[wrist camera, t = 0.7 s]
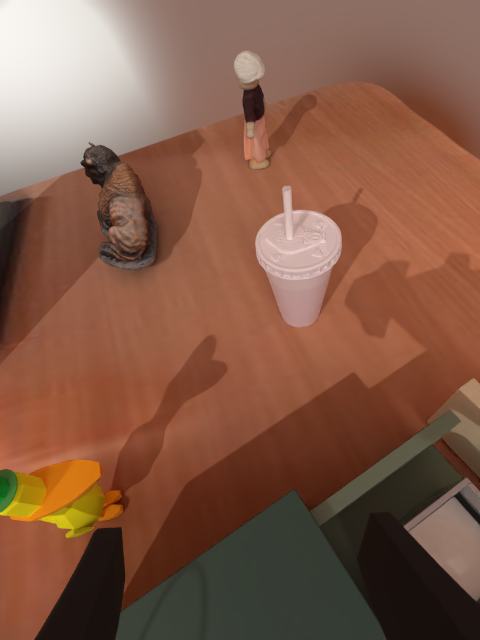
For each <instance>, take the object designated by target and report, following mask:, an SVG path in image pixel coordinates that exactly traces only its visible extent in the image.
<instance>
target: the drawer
mask: <svg viewBox="0 0 480 640" xmlns="http://www.w3.org/2000/svg"><path fill="white" fill-rule="evenodd" d="M427 423H428V424H429V425H428V426H426V427H425V428H424V429H422V430H421V431H420V432H418V433H417V434H415V435H414V436H413V437H411V438H410V439H409V440H407V441H406V442H404V443H403V444H402V445H400V446H399V447H398V448H396V449H395V450H393V451H392V452H391V453H389V454H388V455H387V456H385V457H384V458H382V459H381V460H380V461H378V462H377V463H376V464H374V465H373V466H371V467H370V468H369V469H367V470H366V471H365V472H363V473H362V474H360V475H359V476H358V477H356V478H355V479H353V480H352V481H351V482H349V483H348V484H347V485H345V486H344V487H342V488H341V489H340V490H338V491H337V492H336V493H334V494H333V495H331V496H330V497H329V498H327V499H326V500H325V501H323V502H322V503H320V504H319V505H318V506H316V507H315V508H314V509H312V510H311V511H310V513H311V514H312V516H313V518H314V519H315V521H316V522H317V524H318V526H319V527H320V529H321V530H322V532H323V534H324V535H325V537H326V538H327V540H328V541H329V543H330V545H331V546H332V548H333V549H334V551H335V553H336V554H337V556H338V557H339V559H340V561H341V562H342V564H343V565H344V567H345V568H346V570H347V572H348V573H349V575H350V576H351V578H352V580H353V581H354V583H355V584H356V586H357V588H358V589H359V591H360V592H361V594H362V596H363V597H364V599H365V600H366V602H367V603H368V605H369V607H370V608H371V610H372V611H373V613H374V615H375V616H376V614H375V611H374V609H373V606H372V604H371V602H370V599H369V596H368V593H367V590H366V587H365V584H364V581H363V577H362V574H361V571H360V568H359V564H358V561H357V557H358V556H357V554H356V553H357V552H359V550H360V546H361V543H362V540H363V536H364V533H365V529H366V526H367V522H368V519H369V515H370V513H375V512H390V513H391V514H392V515H393V516H394V517H395V518H396V519H397V520H398V521H399V520H400V519H402V518H403V517H404V516H406V515H407V514H408V513H409V512H411V511H412V510H413V509H415V508H416V507H417V506H418V505H420V504H421V503H422V502H424V501H425V500H426V499H428V498H429V497H430V496H431V495H433V494H434V493H435V492H437V491H438V490H439V489H441V488H442V487H444V486H446V485H449V484H451V483H454V482H456V481H458V480H461V479H463V477H462V476H461V475H460V474H459V473H458V472H457V471H456V470H455V469H454V468H453V467H452V465H451V464H450V463H449V462H448V461H447V460H446V459H445V458H444V457H443V456H442V455H441V454H440V452H439V451H438V450H437V449H436V448H435V447H434V446H433V444H434V443H435V442H436V441H438V440H439V439H440V438H442V439H443V440H444V441H445V442H446V443H447V445H448V446H449V447H450V448H451V449H452V450H453V451H454V452H455V453H456V454H457V455H458V456H459V457H460V458H461V459H462V460H463V461H464V462H465V464H466V465H467V466H468V467H469V468H470V469H471V470H472V471H473V472H474V473H475V474H476V475H477V476H478V477H479V478H480V383H479V382H477V381H476V380H475V379H474V378H472V379H471V380H469V381H468V382H467V383H465V384H464V385H462V386H461V387H460V388H458V389H457V390H456V391H455V392H454V394H453V395H452V396H451V397H450V398H449V399H448V400H447V401H446V402H445V403H444V404H443V405H442V406H441V407H440V408H439V409H438V410H437V411H436V412H435V413H434V414H433V415H432V416H431V417H430V418H429V419H428V420H427ZM376 618H377V616H376ZM377 619H378V618H377Z"/></svg>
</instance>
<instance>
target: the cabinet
mask: <svg viewBox="0 0 480 640" xmlns="http://www.w3.org/2000/svg"><path fill="white" fill-rule="evenodd" d="M115 640H386V637H385V635H384V633H383V630H382V628H381V626H380V623H379V621H378V619H377V618H376V616H375V615H374V613H373V611H372V610H371V608H370V607H369V605H368V603H367V602H366V600H365V599H364V597H363V596H362V594H361V592H360V591H359V589H358V588H357V586H356V584H355V583H354V581H353V580H352V578H351V576H350V575H349V573H348V572H347V570H346V568H345V567H344V565H343V564H342V562H341V561H340V559H339V557H338V556H337V554H336V553H335V551H334V549H333V548H332V546H331V545H330V543H329V541H328V540H327V538H326V537H325V535H324V534H323V532H322V530H321V529H320V527H319V526H318V524H317V522H316V521H315V519H314V518H313V516H312V514H311V513H310V511H309V510H308V508H307V507H306V505H305V503H304V502H303V500H302V499H301V497H300V495H299V494H298V492H297V491H296V489H293V490H291V491H290V492H288V493H287V494H286V495H284V496H283V497H281V498H280V499H279V500H277V501H276V502H274V503H273V504H272V505H270V506H269V507H267V508H266V509H264V510H263V511H262V512H260V513H259V514H257V515H256V516H255V517H253V518H252V519H250V520H249V521H248V522H246V523H245V524H243V525H242V526H240V527H239V528H238V529H236V530H235V531H233V532H232V533H231V534H229V535H228V536H226V537H225V538H224V539H222V540H221V541H219V542H218V543H216V544H215V545H214V546H212V547H211V548H209V549H208V550H207V551H205V552H204V553H202V554H201V555H199V556H198V557H197V558H195V559H194V560H192V561H191V562H190V563H188V564H187V565H185V566H184V567H183V568H181V569H180V570H178V571H177V572H175V573H174V574H173V575H171V576H170V577H168V578H167V579H166V580H164V581H163V582H161V583H160V584H159V585H157V586H156V587H154V588H153V589H151V590H150V591H149V592H147V593H146V594H144V595H143V596H142V597H140V598H139V599H137V600H136V601H135V602H133V603H132V604H130V605H129V606H127V607H126V608H125V609H123V610H122V611H121V612H120V619H119V625H118V630H117V634H116V639H115Z"/></svg>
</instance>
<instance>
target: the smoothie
mask: <svg viewBox="0 0 480 640" xmlns="http://www.w3.org/2000/svg"><path fill="white" fill-rule="evenodd" d="M282 190H283V204H284V213H281V214H279V215H276V216H275V217H273V218H271V219H270V220H268V221H267V222H266V223H265V224H264V225H263V226H262V227H261V228H260V230H259V231H258V233H257V236H256V240H255V247H256V256H257V259H258V261H259V264H260V265H261V266H262V267H263V268H264V269H265V271H266V274H267V276H268V279H269V282H270V285H271V288H272V290H273V293H274V296H275V299H276V302H277V305H278V307H279V310H280V313H281V316H282V318H283V320H284V321H285V322H286V323H287V324H289V325H291V326H293V327H307V326H309V325H311V324H313V323H314V322H315V321H316V320H317V319H318V317H319V314H320V310H321V306H322V303H323V299H324V296H325V292H326V288H327V285H328V281H329V278H330V274H331V271H332V267H333V265H334V264H335V263H336V262H337V260H338V258H339V257H340V255H341V249H342V244H341V241H342V237H341V232H340V229H339V227H338V226H337V224H336V223H335V222H334V221H333V220H332V219H330V218H329V217H327V216H326V215H324V214H321V213H318V212H315V211H310V210H293V211H292V195H291V187H290V186H285V187H283V189H282Z"/></svg>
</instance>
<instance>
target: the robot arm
mask: <svg viewBox="0 0 480 640" xmlns="http://www.w3.org/2000/svg"><path fill="white" fill-rule="evenodd" d="M357 561H358V564H359V568H360V571H361V574H362V577H363V581H364V584H365V587H366V590H367V593H368V596H369V599H370V602H371V604H372V606H373V609H374V611H375V614H376V616H377V618H378V621H379V623H380V626H381V628H382V630H383V633H384V635H385V637H386V640H480V605H479V604H478V603H477V602H476V601H475V600H474V599H473V598H472V597H471V596H470V595H469V594H468V593H467V592H466V591H465V590H464V589H463V588H462V587H461V586H460V585H459V584H458V583H457V582H456V581H455V580H454V579H453V578H452V577H451V576H450V575H449V574H448V573H447V572H446V571H445V570H444V569H443V568H442V567H441V566H440V565H439V564H438V562H437V561H436V560H435V559H434V558H433V557H432V556H431V555H430V554H429V553H428V552H427V551H426V550H425V549H424V548H423V547H422V546H421V545H420V544H419V543H418V542H417V540H416V539H415V538H414V537H413V536H412V535H411V534H410V533H409V532H408V531H407V530H406V529H405V528H404V527H403V526H402V525H401V523H400V522H399V521H398V520H397V519H396V518H395V517H394V516H393V515H392V514H391V513H390V512H375V513H370V515H369V519H368V522H367V526H366V529H365V533H364V536H363V540H362V543H361V546H360V550H359V553H358V557H357ZM124 583H125V567H124V554H123V541H122V528H121V527H117V528H100V529H97V530H96V531H95V532H94V533H93V535H92V537H91V540H90V542H89V544H88V546H87V548H86V550H85V552H84V554H83V556H82V558H81V560H80V562H79V564H78V565H77V567H76V569H75V571H74V573H73V575H72V576H71V578H70V580H69V582H68V584H67V586H66V587H65V589H64V591H63V593H62V594H61V596H60V598H59V599H58V601H57V603H56V605H55V606H54V608H53V610H52V611H51V613H50V615H49V616H48V618H47V620H46V622H45V623H44V625H43V627H42V628H41V630H40V632H39V633H38V635H37V636H36V638H35V639H34V640H115V639H116V634H117V630H118V625H119V619H120V612H121V605H122V598H123V590H124Z"/></svg>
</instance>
